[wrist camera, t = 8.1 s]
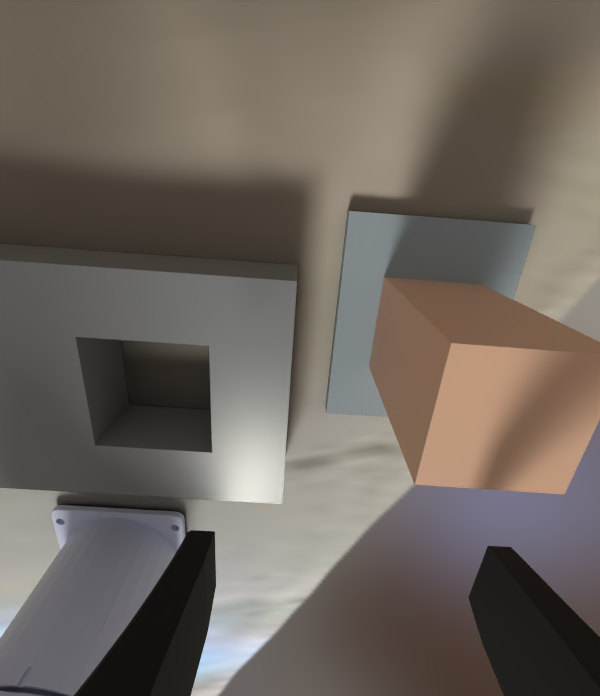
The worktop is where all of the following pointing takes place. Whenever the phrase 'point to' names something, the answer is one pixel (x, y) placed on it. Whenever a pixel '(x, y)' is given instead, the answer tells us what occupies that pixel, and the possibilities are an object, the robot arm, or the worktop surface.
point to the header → (110, 382)
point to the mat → (409, 263)
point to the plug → (483, 387)
